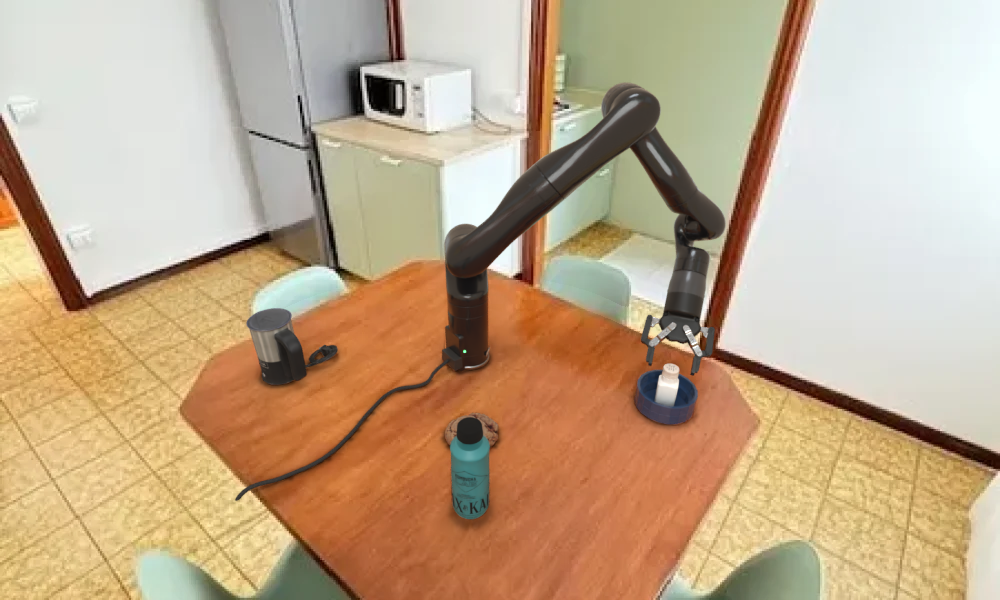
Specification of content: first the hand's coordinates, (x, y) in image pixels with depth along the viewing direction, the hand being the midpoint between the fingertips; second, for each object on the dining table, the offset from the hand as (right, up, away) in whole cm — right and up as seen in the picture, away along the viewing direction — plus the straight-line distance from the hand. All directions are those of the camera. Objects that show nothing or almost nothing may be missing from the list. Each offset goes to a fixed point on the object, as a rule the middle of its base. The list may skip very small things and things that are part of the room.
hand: (670, 370), depth 111 cm
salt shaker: (0, -8, +3) cm, 8 cm away
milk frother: (-82, -1, +14) cm, 83 cm away
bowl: (-1, -8, +4) cm, 9 cm away
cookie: (-41, -13, -4) cm, 43 cm away
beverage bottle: (-40, -22, -19) cm, 49 cm away
